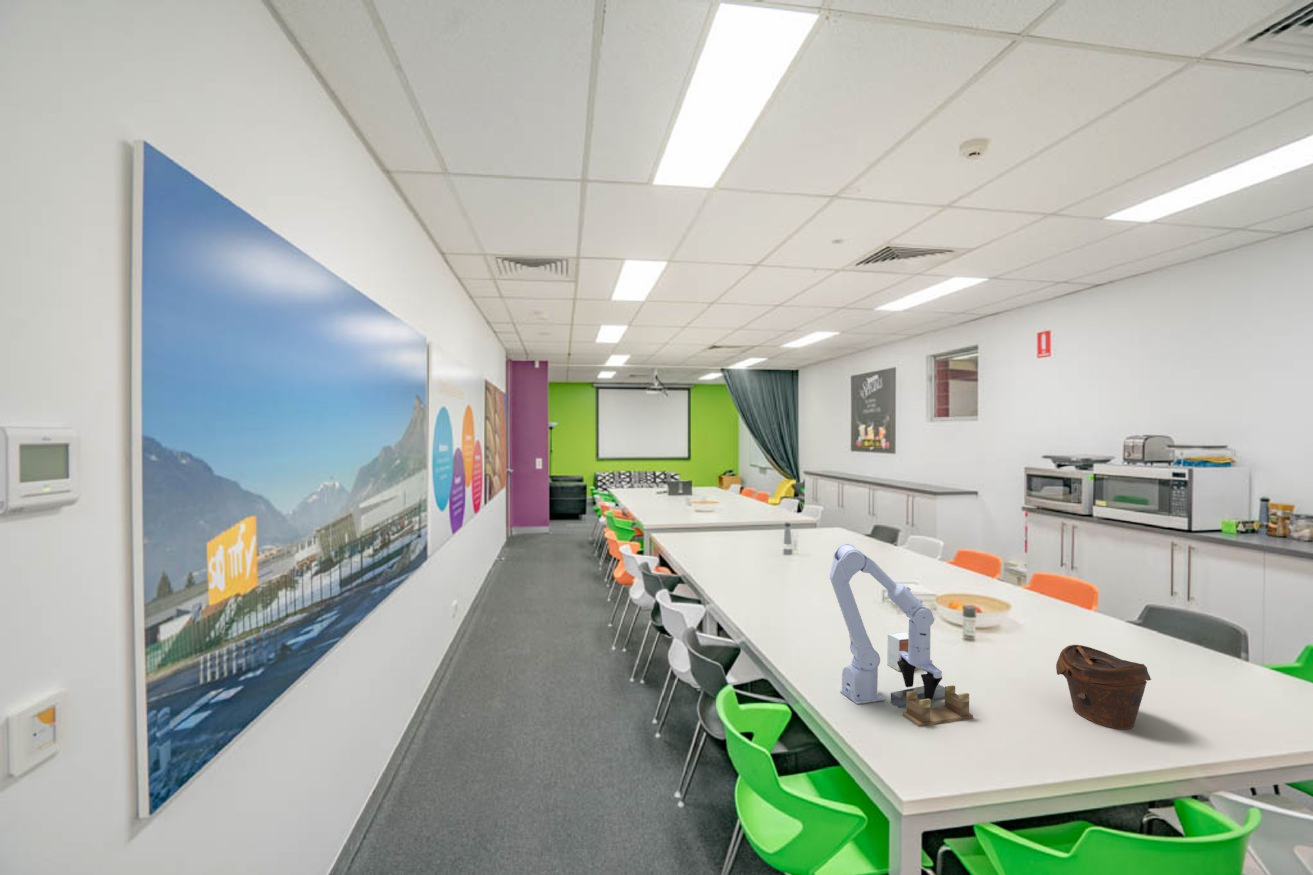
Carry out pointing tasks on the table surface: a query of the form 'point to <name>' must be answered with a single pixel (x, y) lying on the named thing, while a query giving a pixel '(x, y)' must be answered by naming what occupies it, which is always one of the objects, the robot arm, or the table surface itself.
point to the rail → (901, 696)
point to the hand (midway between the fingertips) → (918, 692)
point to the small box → (896, 648)
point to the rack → (937, 708)
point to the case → (1103, 685)
